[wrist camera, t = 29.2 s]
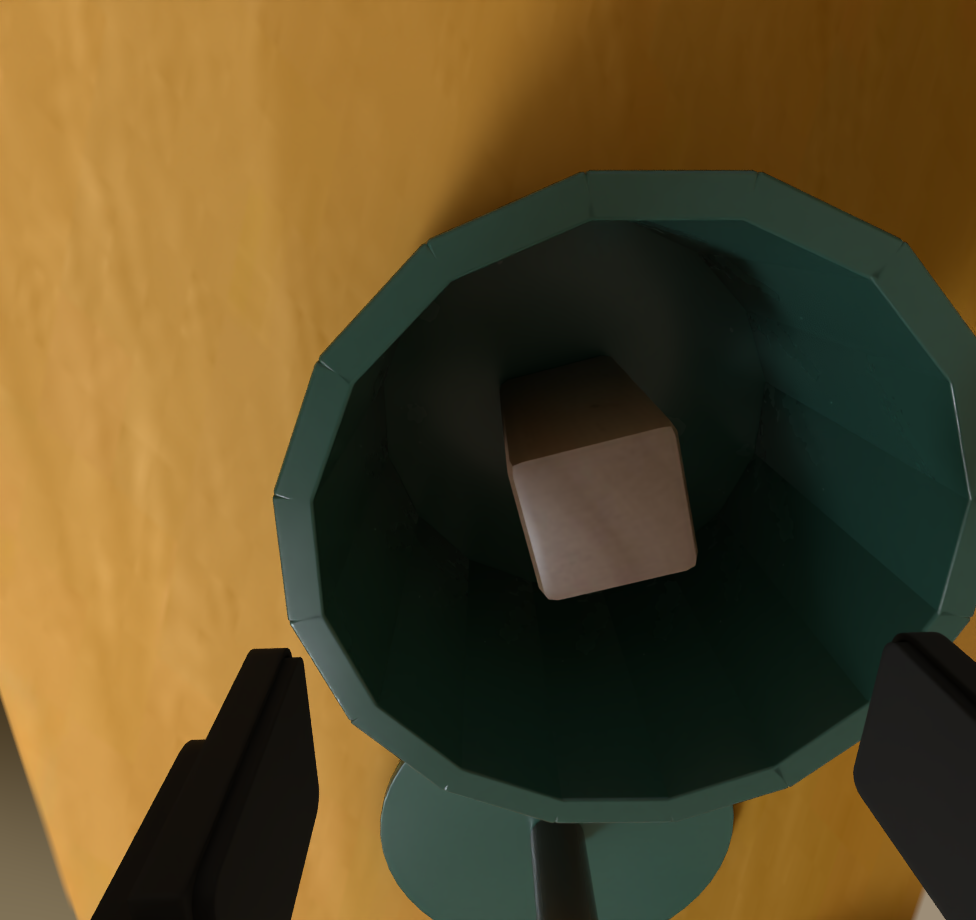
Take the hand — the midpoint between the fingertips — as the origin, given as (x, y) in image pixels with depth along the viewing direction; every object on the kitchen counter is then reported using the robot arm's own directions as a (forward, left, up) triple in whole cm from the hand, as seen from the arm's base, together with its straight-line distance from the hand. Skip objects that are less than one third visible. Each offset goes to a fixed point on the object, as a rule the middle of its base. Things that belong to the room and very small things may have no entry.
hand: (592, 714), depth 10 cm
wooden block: (+1, +1, -14) cm, 14 cm away
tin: (+1, +1, -14) cm, 14 cm away
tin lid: (+1, -18, -13) cm, 23 cm away
